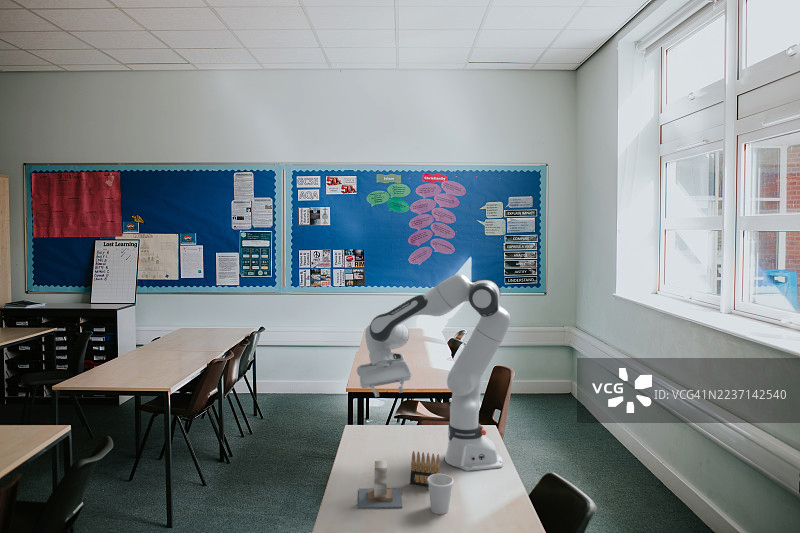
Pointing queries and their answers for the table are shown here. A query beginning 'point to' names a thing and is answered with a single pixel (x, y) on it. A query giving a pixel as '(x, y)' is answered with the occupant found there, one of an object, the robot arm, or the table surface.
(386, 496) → the pale pillar on plinth
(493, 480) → the table surface
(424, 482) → the ammunition clip
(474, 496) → the table surface
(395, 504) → the slate mat
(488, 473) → the table surface
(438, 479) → the dixie cup
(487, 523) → the table surface
